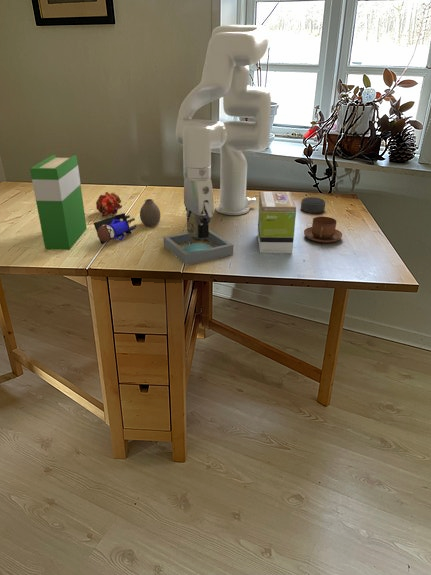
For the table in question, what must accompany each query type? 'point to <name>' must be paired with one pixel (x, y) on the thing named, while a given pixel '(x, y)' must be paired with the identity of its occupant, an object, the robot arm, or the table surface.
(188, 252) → the walled pen
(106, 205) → the dragon fruit
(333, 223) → the cup and saucer
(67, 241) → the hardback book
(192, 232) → the decorative egg
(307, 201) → the smart speaker
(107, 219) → the character figurine
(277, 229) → the tea box
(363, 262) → the table surface
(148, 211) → the vase
